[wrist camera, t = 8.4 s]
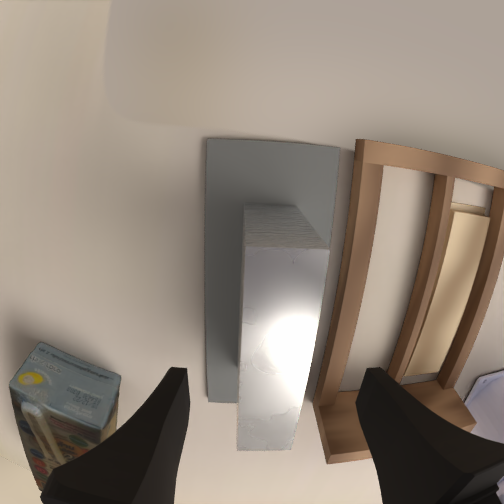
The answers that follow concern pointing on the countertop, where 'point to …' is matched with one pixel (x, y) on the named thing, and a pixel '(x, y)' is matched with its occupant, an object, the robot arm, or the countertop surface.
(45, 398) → the beverage carton
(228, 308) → the mat
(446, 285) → the offcut top
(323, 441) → the rack
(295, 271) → the shiny grey metal block
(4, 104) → the countertop surface
